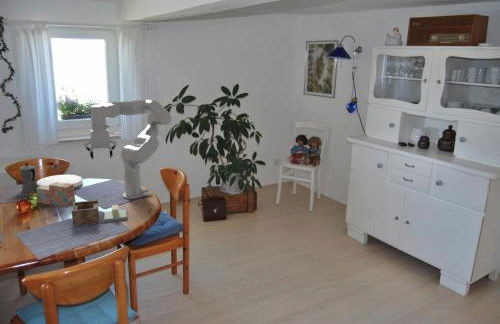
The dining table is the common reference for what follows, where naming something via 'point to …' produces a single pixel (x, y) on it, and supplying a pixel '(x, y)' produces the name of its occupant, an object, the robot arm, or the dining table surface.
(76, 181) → the plate
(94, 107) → the robot arm
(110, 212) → the lid
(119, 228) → the dining table surface
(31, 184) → the coffeepot
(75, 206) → the box
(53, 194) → the stack of blocks
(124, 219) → the grey flat slab
